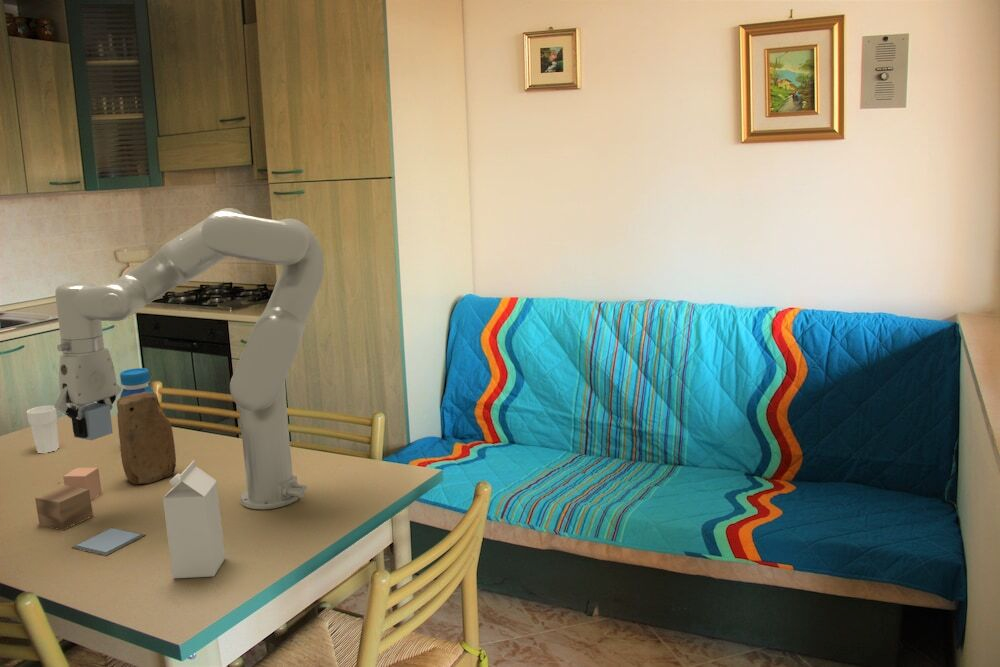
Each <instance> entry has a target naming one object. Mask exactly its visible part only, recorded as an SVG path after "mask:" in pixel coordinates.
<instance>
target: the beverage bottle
mask: <svg viewBox="0 0 1000 667" xmlns="http://www.w3.org/2000/svg"><path fill="white" fill-rule="evenodd" d="M119 377H120V383H121V386H122V387H124V388H123V389H122V390H121V392H120V397H119V398H122V397H124V396H128V395H132V394H138V393H142V392H153V393H155V391H154V389H153V388H152V387H151V386H150V385H149V383H150V381H151V379H150V372H149V369H148V368H145V367H137V368H130V369H129V368H128V369H125V370H123V371H121V372H120V373H119Z"/></svg>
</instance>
